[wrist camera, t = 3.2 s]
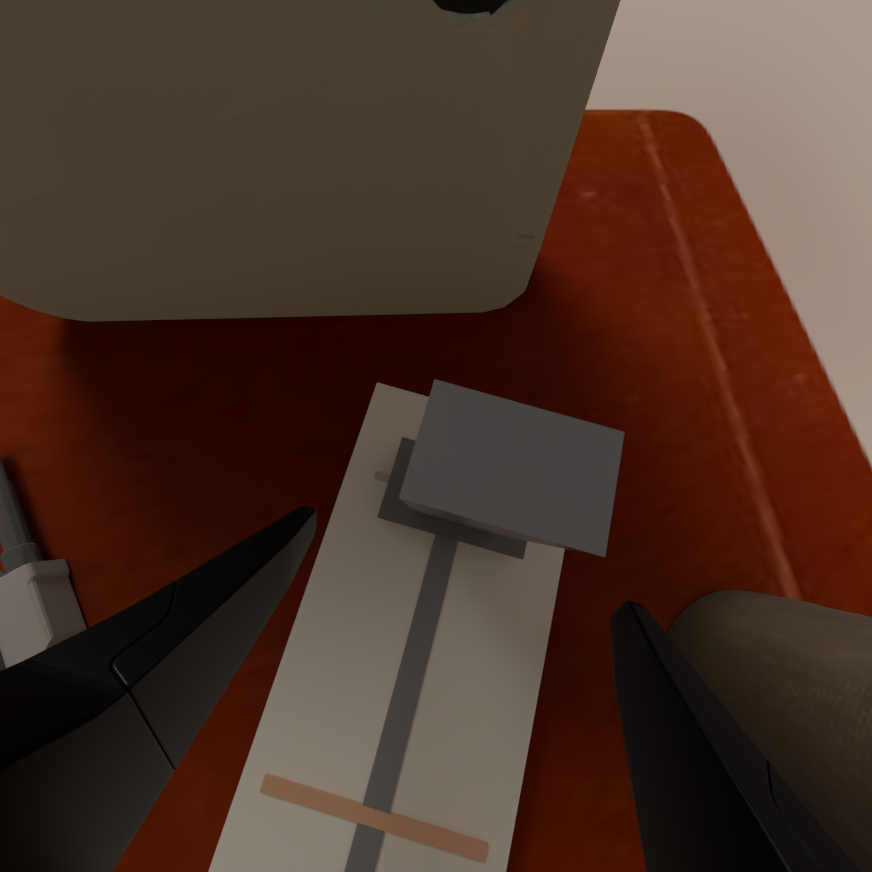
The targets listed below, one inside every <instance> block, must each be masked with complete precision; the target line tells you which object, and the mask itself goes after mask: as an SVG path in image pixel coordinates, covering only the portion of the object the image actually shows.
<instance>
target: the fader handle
mask: <svg viewBox="0 0 872 872" xmlns="http://www.w3.org/2000/svg"><path fill="white" fill-rule="evenodd" d="M624 433H625V432H623V431H620V430H616V429H612V428H609V427H605V426H602V425H598V424H594V423H591V422H587V421H584V420H580V419H576V418H573V417H569V416H566V415H562V414H558V413H555V412H551V411H548V410H544V409H540V408H537V407H533V406H530V405H526V404H522V403H519V402H515V401H512V400H508V399H504V398H501V397H497V396H494V395H490V394H486V393H483V392H479V391H476V390H472V389H468V388H465V387H461V386H458V385H454V384H450V383H447V382H443V381H440V380H436V379H434V382H433V386H432V389H431V392H430V396H429V399H428V402H427V406H426V409H425V412H424V415H423V419H422V422H421V425H420V429H419V432H418V435H417V439H416V441H415V440H411V439H408V438H404V437H402V439H401V443H400V446H399V449H398V452H397V455H396V459H395V462H394V465H393V468H392V471H391V474H390V478H389V481H388V484H387V487H386V490H385V494H384V497H383V500H382V503H381V506H380V510H379V513H378V516H377V518H381V519H384V520H387V521H391V522H394V523H398V524H401V525H405V526H408V527H412V528H415V529H418V530H422V531H425V532H429V533H432V534H436V535H439V536H443V537H446V538H449V539H453V540H456V541H460V542H463V543H467V544H470V545H474V546H477V547H480V548H484V549H487V550H491V551H494V552H498V553H501V554H505V555H508V556H512V557H515V558H518V559H522V560H523V558H524V554H525V549H526V544H527V541H529V542H534V543H539V544H544V545H548V546H553V547H558V548H563V549H568V550H572V551H577V552H582V553H587V554H591V555H596V556H601V557H605V556H606V550H607V543H608V537H609V530H610V524H611V517H612V511H613V504H614V498H615V492H616V485H617V479H618V472H619V466H620V459H621V453H622V446H623V440H624Z"/></svg>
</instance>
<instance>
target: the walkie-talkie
mask: <svg viewBox="0 0 872 872" xmlns="http://www.w3.org/2000/svg"><path fill="white" fill-rule="evenodd" d="M0 543H1V546H2V549H3V553H2V554H1V555H0V558H1V561H2V565H3V568H4V570H1V571H0V671H1V670H3V669H6V668H8V667H10V666H13V665H15V664H17V663H19V662H21V661H24V660H26V659H28V658H30V657H32V656H34V655H36V654H38V653H40V652H42V651H44V650H46V649H48V648H50V647H52V646H54V645H56V644H58V643H60V642H62V641H64V640H66V639H68V638H70V637H72V636H74V635H76V634H78V633H80V632H82V631H84V630H86V629H87V628H86V624H85V622H84V619H83V616H82V613H81V610H80V608H79V605H78V602H77V599H76V596H75V594H74V591H73V588H72V585H71V582H70V580H69V577H68V575H69V571H70V570H69V567H68V565H67V562H66V559H56V560H47V561H44V560H43V557H42V554H41V551H40V549H39V546H38V544H36V543H34V542H33V539H32V537H31V534H30V531H29V528H28V525H27V522H26V519H25V517H24V514H23V511H22V508H21V505H20V502H19V499H18V497H17V494H16V491H15V488H14V485H13V482H11V481H10V480H9V479H8V478H7V475H6V472H5V470H4V467H3V464H2V461H1V458H0Z"/></svg>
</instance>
